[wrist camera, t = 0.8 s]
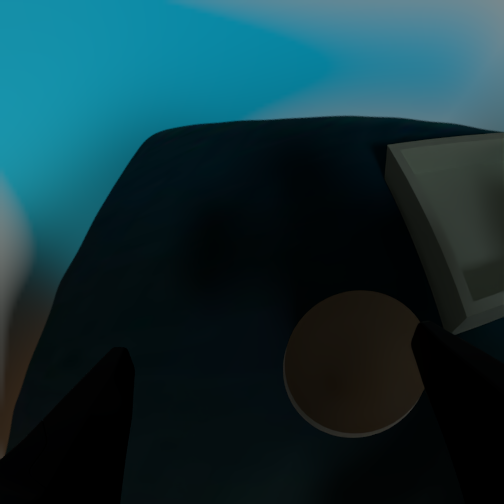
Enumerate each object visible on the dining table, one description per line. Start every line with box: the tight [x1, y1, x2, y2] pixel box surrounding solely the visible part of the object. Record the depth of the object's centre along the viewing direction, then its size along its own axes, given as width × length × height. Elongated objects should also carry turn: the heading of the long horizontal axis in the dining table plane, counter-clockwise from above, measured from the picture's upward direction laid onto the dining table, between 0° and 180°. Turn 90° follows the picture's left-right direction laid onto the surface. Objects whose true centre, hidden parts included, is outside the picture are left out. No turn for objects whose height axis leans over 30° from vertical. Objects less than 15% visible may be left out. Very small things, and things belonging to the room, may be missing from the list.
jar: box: [283, 290, 424, 438], centre depth 15 cm, size 6×6×8 cm
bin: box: [384, 133, 504, 335], centre depth 20 cm, size 15×15×4 cm
